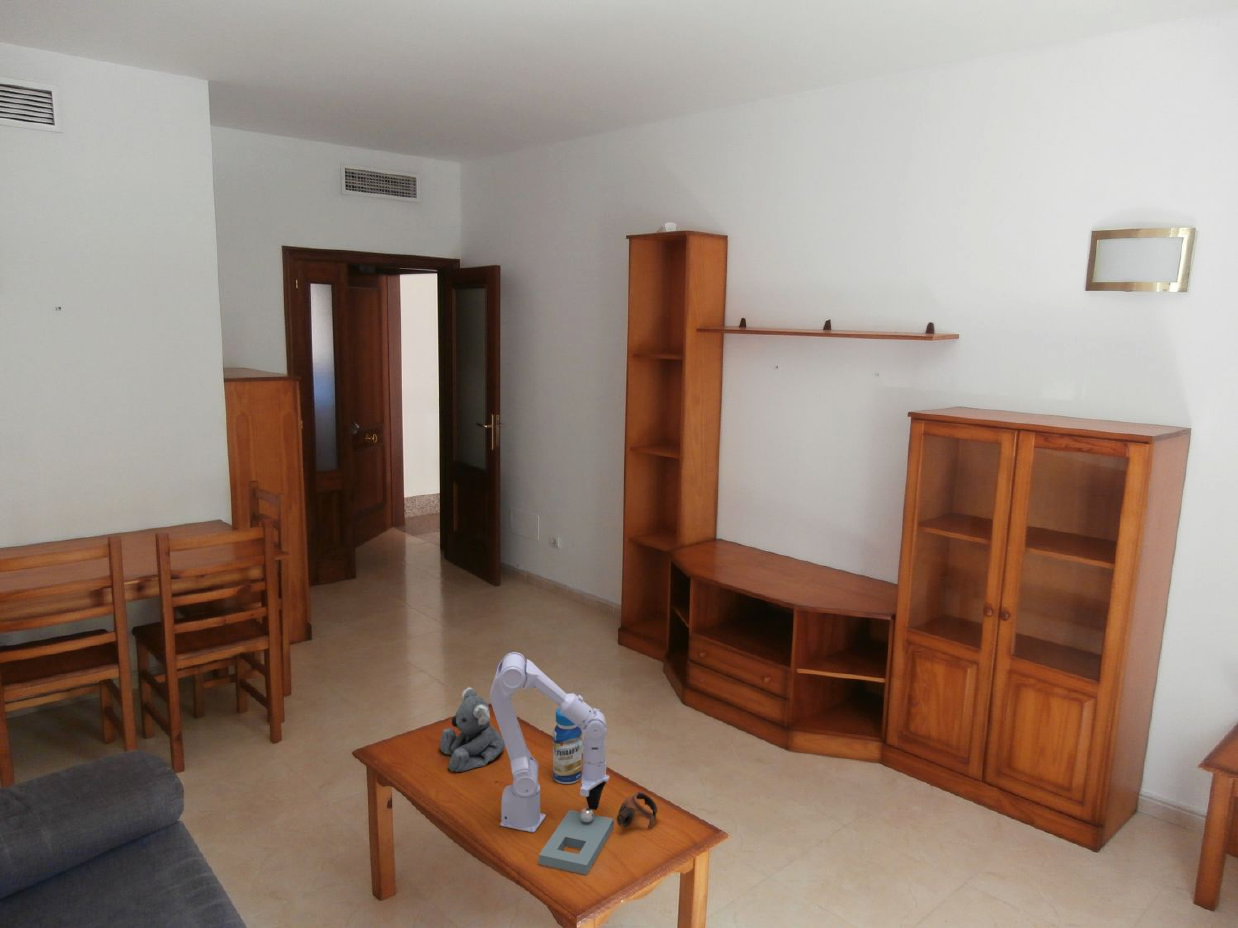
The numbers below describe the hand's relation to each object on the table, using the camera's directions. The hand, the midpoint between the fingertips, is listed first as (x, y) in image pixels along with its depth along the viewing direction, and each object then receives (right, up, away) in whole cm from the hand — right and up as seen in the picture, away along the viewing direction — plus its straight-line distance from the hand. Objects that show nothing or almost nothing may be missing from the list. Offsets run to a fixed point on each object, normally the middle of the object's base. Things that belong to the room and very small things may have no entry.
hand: (593, 807), depth 220 cm
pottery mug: (+10, -4, -1) cm, 11 cm away
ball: (-1, 0, -5) cm, 5 cm away
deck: (-4, -5, -10) cm, 12 cm away
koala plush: (-36, +2, +32) cm, 48 cm away
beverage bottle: (-8, 0, +21) cm, 23 cm away
